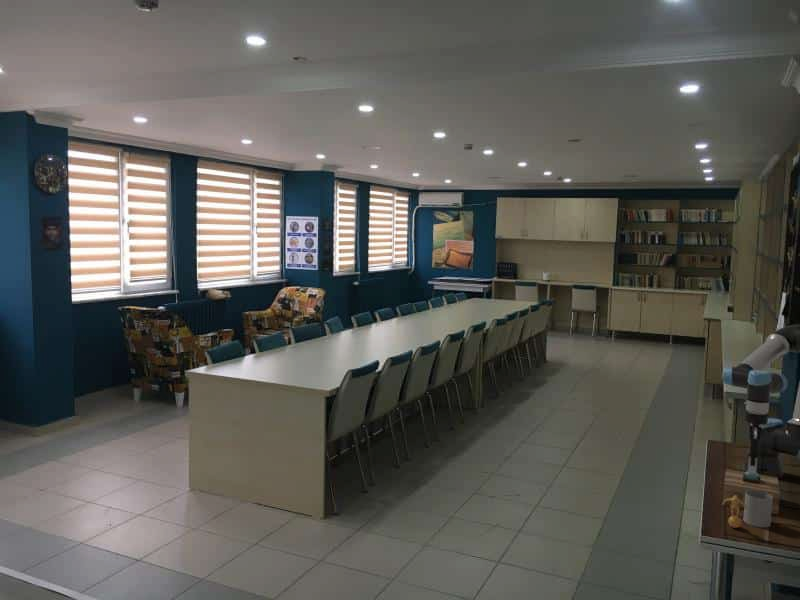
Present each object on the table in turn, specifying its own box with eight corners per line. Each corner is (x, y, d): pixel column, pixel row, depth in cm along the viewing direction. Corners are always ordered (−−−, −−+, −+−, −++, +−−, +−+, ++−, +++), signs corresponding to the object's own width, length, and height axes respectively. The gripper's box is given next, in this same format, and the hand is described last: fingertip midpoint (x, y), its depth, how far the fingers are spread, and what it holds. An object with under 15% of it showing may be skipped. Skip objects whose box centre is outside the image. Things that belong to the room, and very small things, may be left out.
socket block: (724, 488, 266) (725, 466, 265) (776, 497, 258) (778, 474, 257) (722, 504, 250) (724, 480, 249) (778, 514, 242) (780, 489, 241)
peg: (744, 491, 256) (746, 471, 256) (756, 493, 254) (757, 473, 254) (744, 495, 253) (746, 474, 252) (756, 497, 251) (758, 476, 250)
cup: (739, 521, 235) (741, 494, 234) (748, 515, 241) (750, 488, 240) (766, 529, 229) (768, 501, 228) (773, 522, 235) (776, 495, 234)
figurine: (749, 528, 229) (751, 494, 228) (745, 534, 224) (748, 500, 223) (722, 522, 234) (725, 488, 233) (718, 527, 229) (721, 493, 228)
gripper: (745, 406, 258) (740, 466, 260) (745, 414, 246) (740, 476, 249) (767, 409, 255) (762, 470, 257) (768, 417, 243) (763, 480, 245)
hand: (751, 473), depth 253 cm, fingers closed
